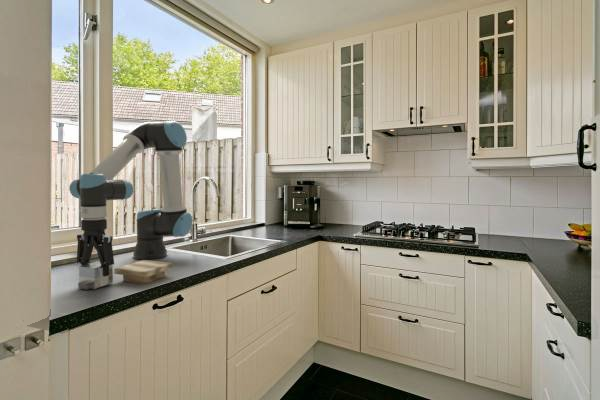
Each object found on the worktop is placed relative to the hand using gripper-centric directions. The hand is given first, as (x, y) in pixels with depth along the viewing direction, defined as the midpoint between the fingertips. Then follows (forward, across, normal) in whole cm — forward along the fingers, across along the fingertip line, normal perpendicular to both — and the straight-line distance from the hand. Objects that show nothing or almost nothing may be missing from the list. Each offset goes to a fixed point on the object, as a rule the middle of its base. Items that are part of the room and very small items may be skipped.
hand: (95, 283), depth 114 cm
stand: (+1, +9, +13) cm, 16 cm away
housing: (0, 0, 0) cm, 0 cm away
